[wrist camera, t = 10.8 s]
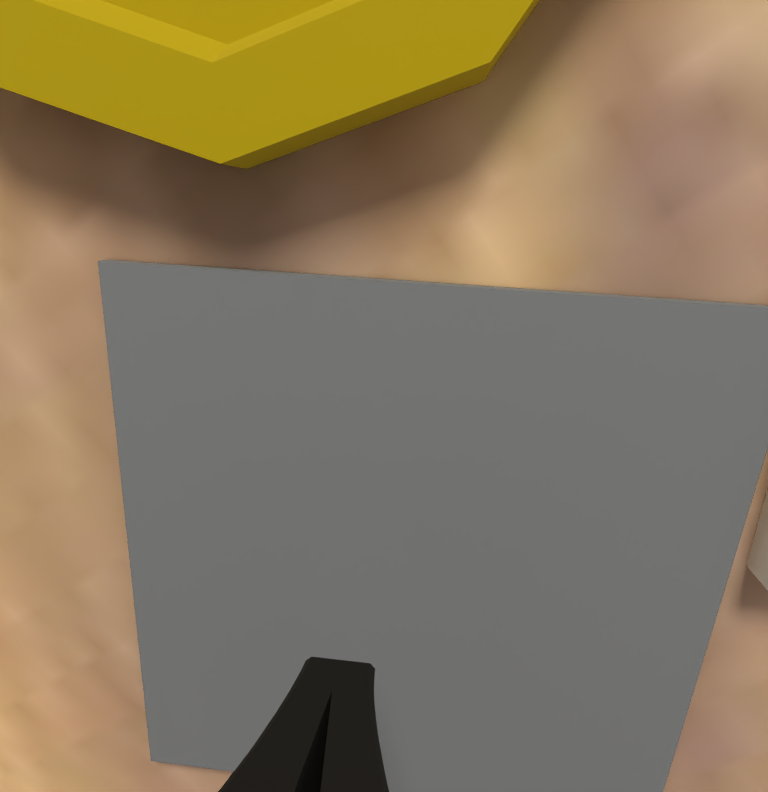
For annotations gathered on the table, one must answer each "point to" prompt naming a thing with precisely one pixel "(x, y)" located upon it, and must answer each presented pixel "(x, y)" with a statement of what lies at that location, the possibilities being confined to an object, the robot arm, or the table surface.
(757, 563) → the tile
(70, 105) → the decorative disc
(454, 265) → the table surface
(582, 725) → the mat
